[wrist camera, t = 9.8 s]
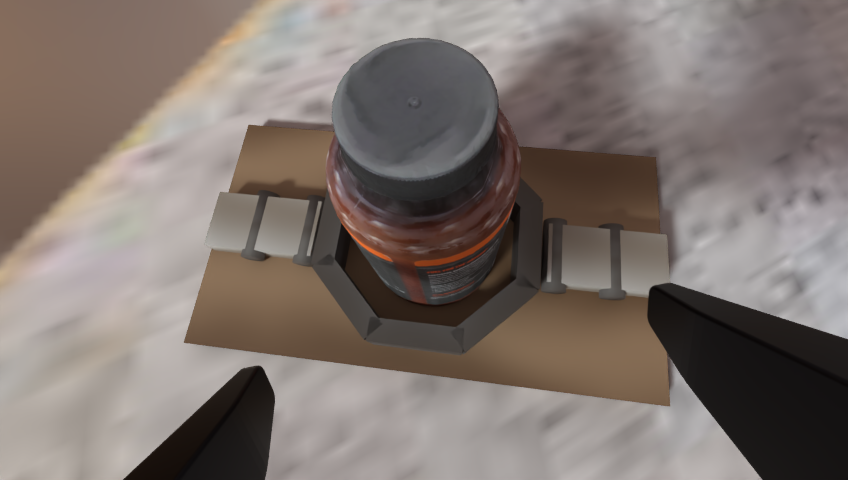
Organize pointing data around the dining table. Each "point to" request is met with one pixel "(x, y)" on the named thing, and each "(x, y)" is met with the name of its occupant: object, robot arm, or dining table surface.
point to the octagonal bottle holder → (457, 322)
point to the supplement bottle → (423, 167)
